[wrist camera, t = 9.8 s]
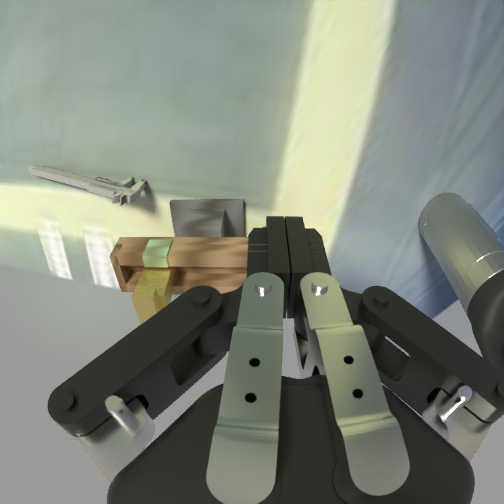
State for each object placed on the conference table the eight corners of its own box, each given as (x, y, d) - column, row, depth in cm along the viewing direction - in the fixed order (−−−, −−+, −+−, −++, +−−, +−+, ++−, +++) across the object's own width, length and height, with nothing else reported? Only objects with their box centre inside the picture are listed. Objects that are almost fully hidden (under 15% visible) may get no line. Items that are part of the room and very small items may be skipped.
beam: (288, 199, 43) (295, 244, 35) (284, 257, 49) (288, 307, 41) (131, 201, 43) (104, 244, 35) (144, 256, 49) (125, 303, 41)
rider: (174, 247, 39) (157, 298, 32) (180, 278, 42) (167, 329, 35) (146, 247, 39) (126, 297, 32) (154, 277, 42) (137, 327, 35)
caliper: (146, 177, 41) (131, 200, 36) (146, 185, 42) (131, 208, 37) (29, 163, 39) (6, 182, 34) (29, 170, 40) (7, 189, 35)
